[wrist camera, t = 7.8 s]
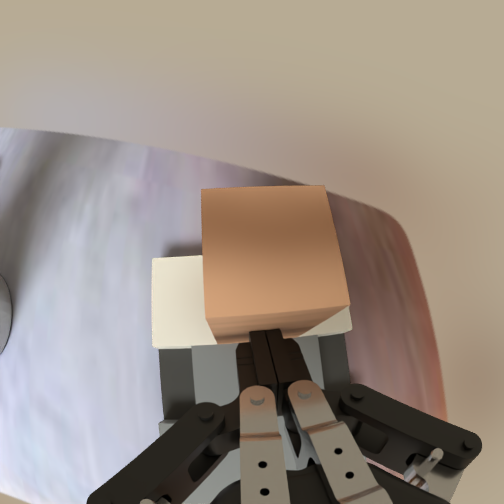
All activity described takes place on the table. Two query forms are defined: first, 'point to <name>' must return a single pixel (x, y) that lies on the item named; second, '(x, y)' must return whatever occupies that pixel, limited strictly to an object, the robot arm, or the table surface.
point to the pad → (199, 306)
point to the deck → (236, 392)
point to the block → (269, 261)
